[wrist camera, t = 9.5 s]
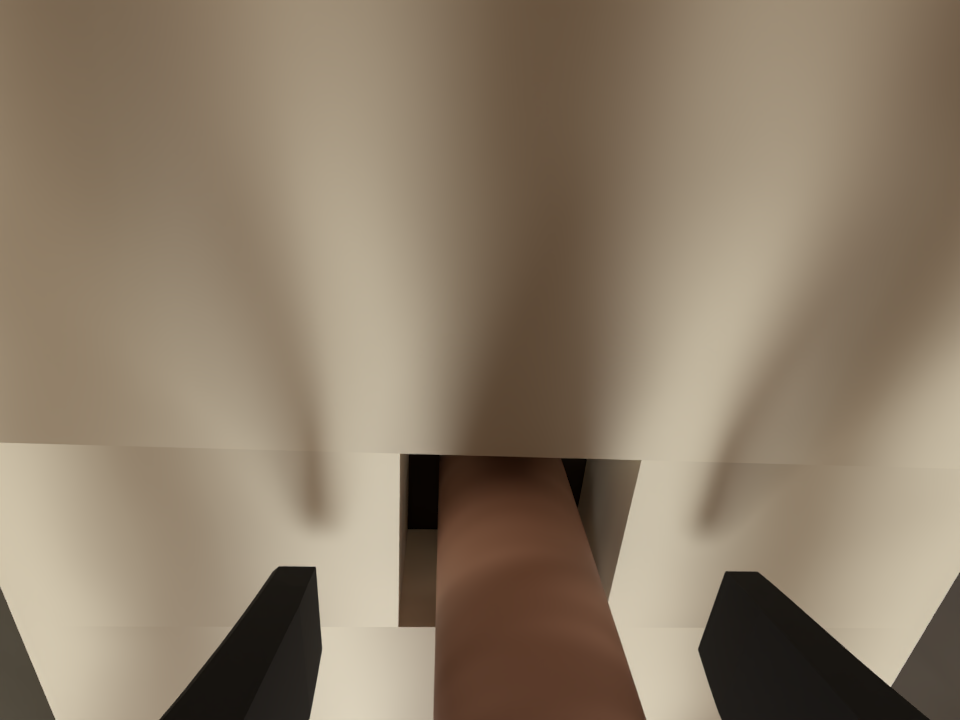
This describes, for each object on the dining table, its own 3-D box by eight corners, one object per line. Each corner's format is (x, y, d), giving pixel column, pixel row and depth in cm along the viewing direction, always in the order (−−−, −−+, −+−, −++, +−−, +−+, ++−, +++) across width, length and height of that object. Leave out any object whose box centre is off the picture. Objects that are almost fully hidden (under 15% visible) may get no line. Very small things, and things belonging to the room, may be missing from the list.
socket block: (1068, 39, 10) (1294, 12, 7) (761, 708, 18) (815, 811, 16) (-68, -72, 9) (-308, -157, 6) (157, 714, 17) (101, 830, 14)
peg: (565, 410, 13) (794, 992, 4) (549, 508, 14) (704, 1109, 6) (441, 406, 13) (430, 1013, 4) (436, 505, 14) (420, 1129, 5)
